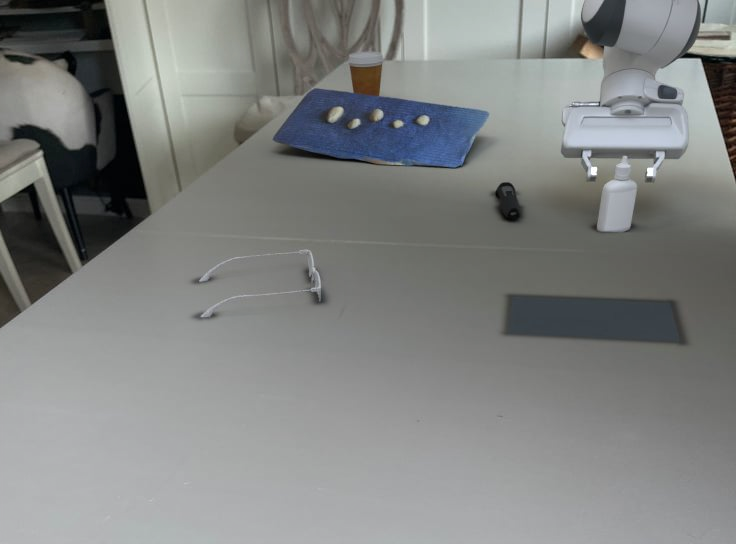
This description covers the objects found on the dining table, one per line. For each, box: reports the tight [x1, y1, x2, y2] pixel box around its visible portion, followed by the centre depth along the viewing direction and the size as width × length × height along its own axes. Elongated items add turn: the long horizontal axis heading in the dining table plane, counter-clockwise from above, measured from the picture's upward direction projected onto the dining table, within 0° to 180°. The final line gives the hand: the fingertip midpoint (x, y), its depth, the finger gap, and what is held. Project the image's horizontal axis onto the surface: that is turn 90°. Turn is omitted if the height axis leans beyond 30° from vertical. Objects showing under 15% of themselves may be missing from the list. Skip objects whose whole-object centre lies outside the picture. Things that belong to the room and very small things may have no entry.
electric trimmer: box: [494, 181, 521, 219], centre depth 148 cm, size 4×16×3 cm, turn 177°
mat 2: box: [508, 296, 681, 343], centre depth 111 cm, size 22×12×1 cm, turn 79°
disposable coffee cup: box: [347, 51, 385, 96], centre depth 214 cm, size 10×10×12 cm
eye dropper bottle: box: [596, 156, 638, 233], centre depth 134 cm, size 4×6×12 cm
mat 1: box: [272, 87, 490, 168], centre depth 184 cm, size 45×27×12 cm, turn 69°
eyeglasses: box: [198, 249, 322, 318], centre depth 122 cm, size 15×18×4 cm
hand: (620, 180), depth 134 cm, fingers open, 8 cm apart
